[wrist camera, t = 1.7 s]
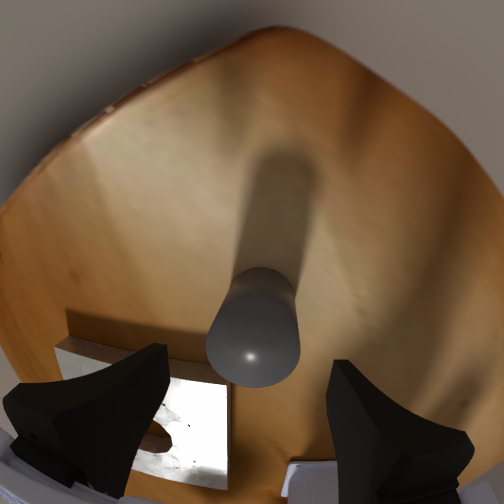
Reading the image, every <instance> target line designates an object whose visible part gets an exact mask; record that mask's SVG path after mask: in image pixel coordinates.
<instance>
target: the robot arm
mask: <svg viewBox="0 0 504 504" xmlns="http://www.w3.org/2000/svg"><path fill="white" fill-rule="evenodd" d="M170 382H171V379H170V371H169V362H168V353H167V345H163V344H157V343H153V344H151V345H149V346H147V347H145V348H143V349H141V350H139V351H138V352H136V353H134V354H132V355H130V356H128V357H126V358H125V359H123V360H121V361H119V362H116V363H114V364H112V365H110V366H108V367H106V368H103V369H101V370H98V371H96V372H93V373H90V374H87V375H84V376H80V377H76V378H71V379H67V380H62V381H55V382H46V383H19V384H18V385H17V386H16V387H15V388H14V389H12V390H11V391H10V392H9V393H8V394H7V395H6V396H5V397H4V398H3V406H4V410H5V412H6V414H7V416H8V418H9V420H10V422H11V423H12V425H13V427H14V429H15V430H16V432H17V434H18V435H19V436H18V437H17V438H16V439H14V438H13V437H12V436H11V435H10V434H9V433H7V432H6V431H4V430H3V429H2V428H0V495H1V496H2V497H3V498H4V499H5V500H7V501H8V502H9V503H10V504H164V503H161V502H157V501H154V500H150V499H146V498H142V497H137V496H127V497H123V496H124V492H125V488H126V484H127V481H128V478H129V474H130V471H131V468H132V465H133V462H134V459H135V457H136V454H137V451H138V449H139V446H140V444H141V441H142V439H143V437H144V435H145V433H146V431H147V429H148V427H149V426H150V424H151V422H152V420H153V418H154V417H155V415H156V413H157V411H158V410H159V408H160V406H161V404H162V402H163V400H164V398H165V396H166V393H167V391H168V388H169V385H170ZM326 405H327V416H328V420H329V425H330V430H331V434H332V439H333V443H334V448H335V453H336V459H337V461H292V462H290V463H289V464H288V468H287V472H286V476H285V480H284V484H283V487H282V491H281V496H283V497H288V504H498V502H497V499H496V497H495V495H494V493H493V491H492V489H491V487H490V485H489V483H488V481H484V482H482V483H480V484H478V485H475V486H473V487H471V488H468V489H466V490H464V491H462V492H461V493H459V494H458V493H457V491H456V488H457V487H458V486H459V482H458V480H457V477H458V476H459V475H460V474H461V472H462V471H463V470H464V469H465V467H466V466H467V465H468V464H469V462H470V461H471V459H472V457H473V455H474V452H475V449H474V446H473V444H472V442H471V441H470V439H469V437H468V436H467V434H466V432H465V431H461V430H457V429H453V428H449V427H445V426H442V425H439V424H436V423H434V422H431V421H429V420H426V419H424V418H422V417H420V416H418V415H416V414H414V413H412V412H410V411H408V410H407V409H405V408H403V407H402V406H400V405H399V404H397V403H396V402H394V401H393V400H391V399H390V398H389V397H387V396H386V395H385V394H384V393H383V392H381V391H380V390H379V389H378V388H377V387H375V386H374V385H373V384H372V383H371V382H370V381H369V380H368V379H367V378H366V377H365V376H364V375H363V374H362V373H361V372H360V371H359V370H358V369H357V368H356V367H355V366H354V365H353V364H352V363H351V362H350V361H349V360H334V362H333V367H332V372H331V376H330V380H329V385H328V389H327V393H326Z"/></svg>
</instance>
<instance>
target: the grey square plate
mask: <svg viewBox="0 0 504 504" xmlns="http://www.w3.org/2000/svg"><path fill="white" fill-rule="evenodd" d="M54 349H55V353H56V356H57V360H58V363H59V366H60V369H61V373H62V376H63V379H64V380H67V379H71V378H76V377H80V376H84V375H87V374H90V373H93V372H96V371H98V370H101V369H103V368H106V367H108V366H110V365H112V364H114V363H116V362H119V361H121V360H123V359H125V358H126V357H128V356H130V355H132V354H134V353H136V352H134V351H129V350H124V349H120V348H115V347H111V346H107V345H103V344H99V343H95V342H91V341H87V340H83V339H80V338H76V337H73V336H67V337H66V338H65V339H63V340H62V341H61V342H60V343H58V344H57V345H56V346H54ZM168 362H169V371H170V379H171V382H170V385H169V388H168V391H167V393H166V396H165V398H164V400H163V402H162V404H161V406H160V408H159V410H158V411H157V413H156V415H155V417H154V418H153V420H154V421H156V422H158V423H159V424H161V425H162V426H163V428H164V429H165V430H166V431H167V432H168V433H169V434H170V435H171V436H170V437H163V438H162V437H158V436H154V435H150V434H148V433H145V435H144V437H143V439H142V441H141V444H140V446H139V449H138V451H137V454H136V457H135V459H134V462H133V465H132V468H131V469H134V470H137V471H140V472H144V473H147V474H151V475H154V476H158V477H162V478H166V479H170V480H174V481H178V482H183V483H187V484H192V485H197V486H203V487H209V488H215V489H221V490H228V485H229V480H230V475H231V382H230V381H228V380H226V379H224V378H223V377H222V376H220V375H219V374H218V373H217V372H216V371H215V370H214V368H213V367H212V365H211V364H203V363H196V362H189V361H183V360H177V359H171V358H168Z"/></svg>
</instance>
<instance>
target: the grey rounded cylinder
mask: <svg viewBox="0 0 504 504" xmlns="http://www.w3.org/2000/svg"><path fill="white" fill-rule="evenodd" d="M205 348H206V354H207V357H208V360H209V362H210V364H211V365H212V367H213V368H214V370H215V371H216V372H217V373H218V374H219V375H220V376H222V377H223V378H224V379H226V380H228V381H230V382H232V383H234V384H236V385H239V386H243V387H250V388H261V387H267V386H271V385H274V384H276V383H279V382H280V381H282V380H284V379H285V378H286V377H288V376H289V375H290V374H291V373H292V371H293V370H294V369H295V367H296V365H297V363H298V361H299V357H300V340H299V331H298V323H297V314H296V306H295V298H294V292H293V288H292V286H291V284H290V282H289V281H288V280H287V279H286V278H285V277H284V276H283V275H282V274H281V273H279V272H277V271H275V270H273V269H270V268H264V267H258V268H252V269H249V270H246V271H244V272H243V273H241V274H240V275H239V276H238V277H237V278H236V279H235V280H234V281H233V283H232V285H231V287H230V289H229V291H228V293H227V295H226V297H225V299H224V301H223V303H222V305H221V307H220V309H219V311H218V313H217V315H216V317H215V319H214V321H213V323H212V325H211V328H210V330H209V332H208V334H207V337H206V344H205Z"/></svg>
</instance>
